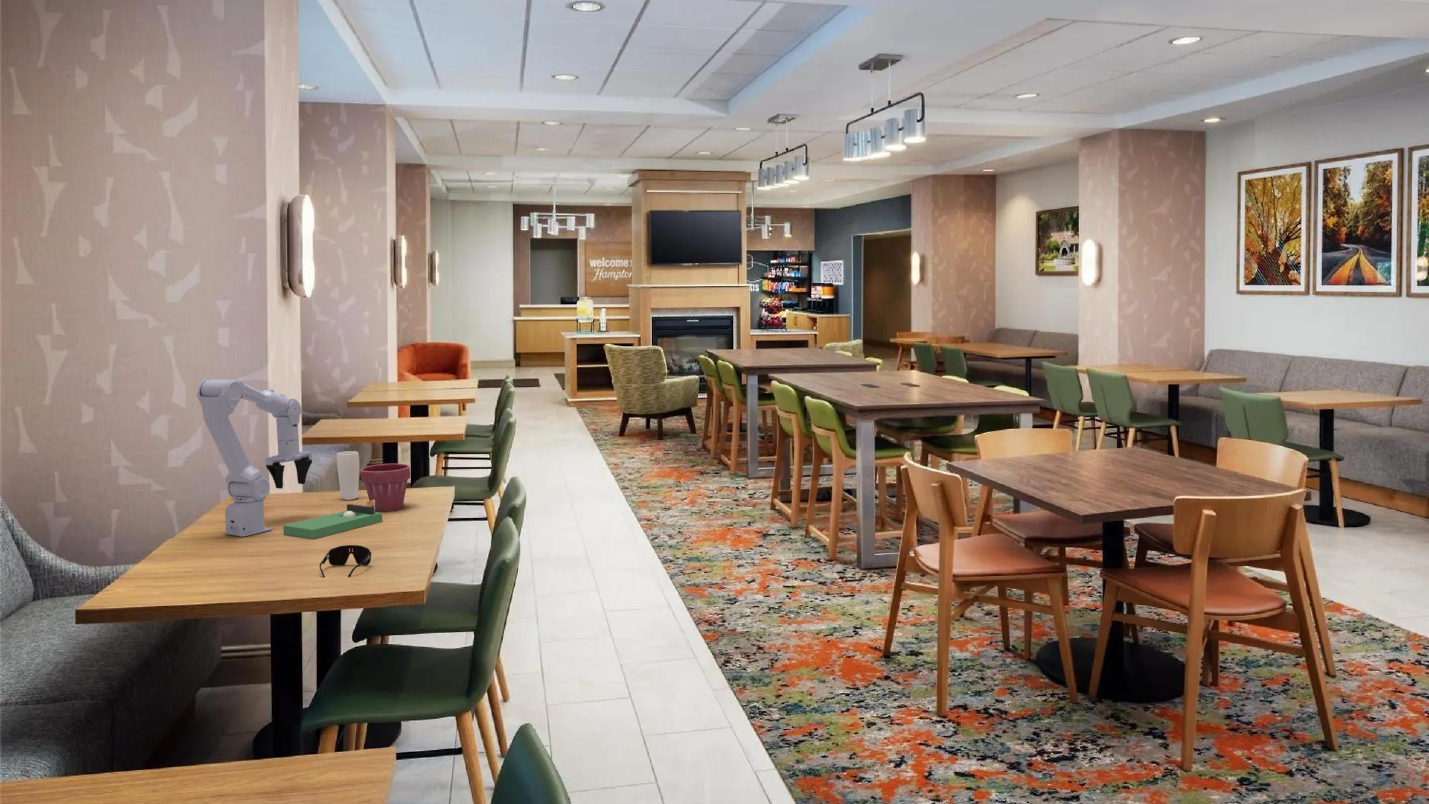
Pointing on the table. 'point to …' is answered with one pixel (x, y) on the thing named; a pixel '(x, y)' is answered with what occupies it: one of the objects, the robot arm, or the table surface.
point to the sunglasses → (342, 553)
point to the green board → (334, 522)
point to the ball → (349, 514)
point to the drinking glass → (348, 474)
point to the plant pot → (386, 485)
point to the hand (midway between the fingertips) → (290, 486)
